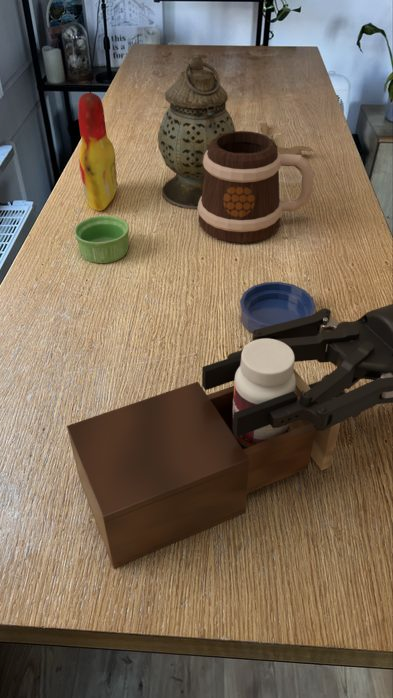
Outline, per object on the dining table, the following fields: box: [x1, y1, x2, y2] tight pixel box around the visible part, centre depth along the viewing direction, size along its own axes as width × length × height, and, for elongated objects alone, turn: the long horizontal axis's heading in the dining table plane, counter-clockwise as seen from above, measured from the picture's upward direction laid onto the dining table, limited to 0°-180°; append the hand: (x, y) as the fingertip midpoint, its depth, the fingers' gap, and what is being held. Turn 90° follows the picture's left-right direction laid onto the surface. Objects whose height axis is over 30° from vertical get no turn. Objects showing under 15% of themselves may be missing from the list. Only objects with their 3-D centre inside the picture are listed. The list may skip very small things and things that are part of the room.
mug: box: [197, 130, 315, 244], centre depth 101 cm, size 20×15×15 cm
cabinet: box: [66, 381, 249, 569], centre depth 60 cm, size 15×12×9 cm
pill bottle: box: [232, 339, 296, 448], centre depth 60 cm, size 6×6×11 cm
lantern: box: [157, 55, 236, 210], centre depth 107 cm, size 14×14×25 cm
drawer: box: [207, 369, 362, 494], centre depth 65 cm, size 18×10×7 cm, turn 115°
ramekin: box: [73, 214, 130, 264], centre depth 98 cm, size 9×9×4 cm
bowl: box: [239, 281, 317, 334], centre depth 85 cm, size 11×11×3 cm
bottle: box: [78, 92, 119, 211], centre depth 106 cm, size 12×6×20 cm, turn 175°
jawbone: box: [260, 122, 315, 156], centre depth 131 cm, size 9×20×2 cm, turn 27°
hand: (219, 400), depth 58 cm, fingers closed on pill bottle, 6 cm apart
